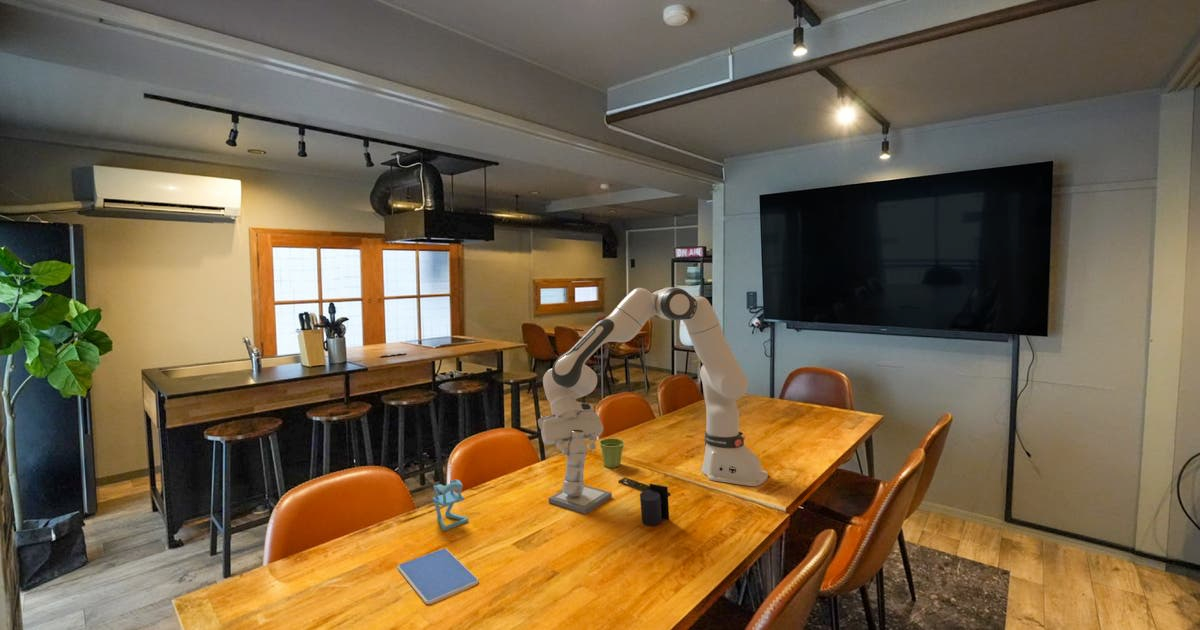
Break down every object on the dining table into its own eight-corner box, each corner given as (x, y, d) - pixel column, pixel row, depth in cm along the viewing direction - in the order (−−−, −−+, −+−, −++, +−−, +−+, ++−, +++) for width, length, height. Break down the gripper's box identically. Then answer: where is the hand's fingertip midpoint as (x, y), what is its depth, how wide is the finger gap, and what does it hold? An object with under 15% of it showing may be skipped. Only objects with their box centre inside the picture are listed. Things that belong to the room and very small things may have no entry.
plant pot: (625, 460, 193) (625, 438, 193) (624, 470, 184) (624, 446, 183) (600, 460, 194) (600, 437, 193) (598, 469, 185) (597, 446, 184)
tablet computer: (395, 569, 124) (395, 564, 124) (445, 551, 132) (445, 546, 132) (426, 608, 109) (426, 602, 109) (480, 585, 117) (480, 579, 117)
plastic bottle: (561, 491, 161) (566, 427, 162) (582, 492, 162) (587, 429, 162) (561, 498, 155) (567, 432, 155) (584, 499, 156) (589, 433, 156)
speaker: (654, 512, 151) (653, 479, 149) (669, 519, 147) (668, 486, 145) (636, 523, 146) (635, 489, 144) (652, 531, 142) (651, 497, 140)
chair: (454, 512, 152) (452, 473, 152) (468, 521, 147) (467, 480, 146) (429, 521, 147) (427, 480, 146) (443, 531, 141) (441, 488, 140)
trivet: (611, 497, 162) (611, 492, 161) (585, 514, 150) (585, 509, 150) (576, 487, 170) (576, 482, 169) (548, 502, 158) (548, 497, 158)
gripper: (538, 412, 159) (551, 452, 152) (596, 403, 169) (611, 441, 161) (533, 422, 164) (546, 462, 156) (590, 414, 173) (604, 450, 165)
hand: (579, 451), depth 159 cm, fingers open, 8 cm apart
